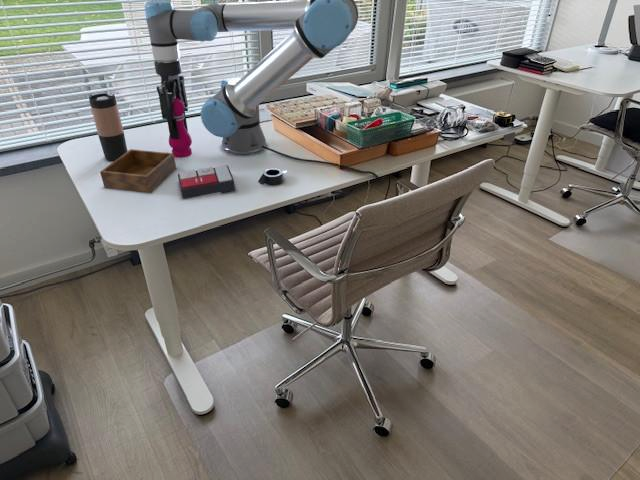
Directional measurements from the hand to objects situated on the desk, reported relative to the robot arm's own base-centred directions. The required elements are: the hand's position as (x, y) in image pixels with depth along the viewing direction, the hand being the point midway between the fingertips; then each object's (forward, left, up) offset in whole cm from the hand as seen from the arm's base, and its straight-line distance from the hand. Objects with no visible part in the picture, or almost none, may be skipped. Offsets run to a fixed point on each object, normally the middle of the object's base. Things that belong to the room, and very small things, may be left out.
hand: (179, 134), depth 149 cm
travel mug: (+21, +5, -8) cm, 23 cm away
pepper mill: (0, 0, -7) cm, 7 cm away
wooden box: (+6, +17, -8) cm, 20 cm away
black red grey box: (-16, +18, -8) cm, 25 cm away
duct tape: (-34, +10, -8) cm, 36 cm away
